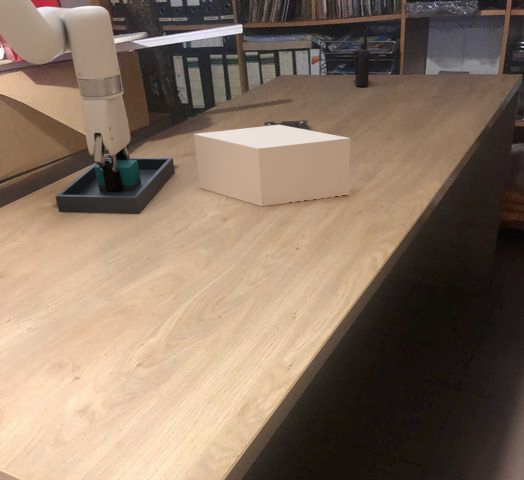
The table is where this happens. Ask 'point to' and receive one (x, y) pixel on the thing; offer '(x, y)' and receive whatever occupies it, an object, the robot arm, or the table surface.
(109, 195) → the tray
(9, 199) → the table surface
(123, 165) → the eraser
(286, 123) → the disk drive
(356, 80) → the two-way radio
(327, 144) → the white rectangular box
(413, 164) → the table surface
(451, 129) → the table surface
